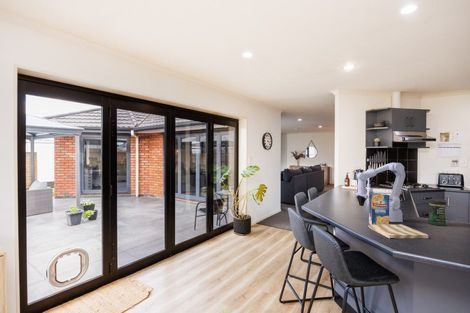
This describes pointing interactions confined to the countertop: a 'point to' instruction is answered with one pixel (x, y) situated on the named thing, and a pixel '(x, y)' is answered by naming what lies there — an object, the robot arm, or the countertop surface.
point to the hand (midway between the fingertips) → (361, 205)
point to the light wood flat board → (397, 231)
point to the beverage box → (378, 208)
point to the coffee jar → (437, 212)
